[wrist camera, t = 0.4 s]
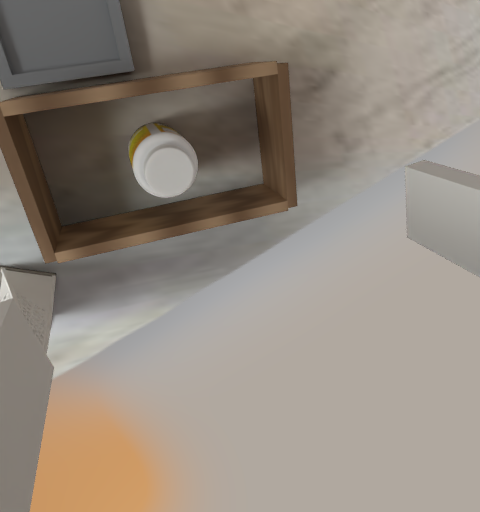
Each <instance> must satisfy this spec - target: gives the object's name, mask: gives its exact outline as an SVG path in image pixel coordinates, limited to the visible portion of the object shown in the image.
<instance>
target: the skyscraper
mask: <svg viewBox="0 0 480 512" xmlns="http://www.w3.org/2000/svg"><path fill="white" fill-rule="evenodd" d="M55 282H56V274H54V273H47V272H40V271H32V270H25V269H18V268H10V267H3V266H0V302H3V301H6V300H9V299H12V298H13V299H14V301H15V303H16V304H17V306H18V308H19V309H20V311H21V313H22V314H23V316H24V318H25V320H26V321H27V323H28V325H29V326H30V328H31V330H32V331H33V333H34V335H35V336H36V338H37V340H38V341H39V343H40V345H41V346H42V348H43V350H44V351H45V353H46V354H47V349H48V343H49V336H50V330H51V321H52V313H53V303H54V293H55Z"/></svg>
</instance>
